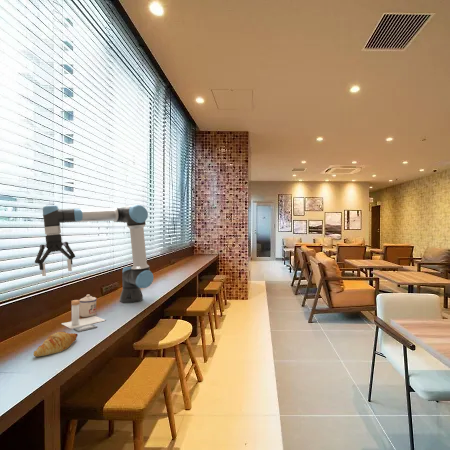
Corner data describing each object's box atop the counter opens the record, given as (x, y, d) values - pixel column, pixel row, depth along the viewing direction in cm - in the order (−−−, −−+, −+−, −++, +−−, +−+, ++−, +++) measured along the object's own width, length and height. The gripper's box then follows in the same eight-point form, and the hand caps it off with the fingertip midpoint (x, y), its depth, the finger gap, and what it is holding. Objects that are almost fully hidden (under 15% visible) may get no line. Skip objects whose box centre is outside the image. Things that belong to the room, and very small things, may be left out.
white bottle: (77, 323, 162) (77, 299, 162) (80, 324, 160) (80, 300, 160) (70, 324, 159) (70, 300, 160) (73, 326, 157) (73, 302, 157)
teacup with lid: (91, 317, 173) (91, 296, 174) (75, 317, 175) (75, 296, 175) (102, 311, 185) (102, 292, 186) (87, 311, 186) (87, 291, 187)
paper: (95, 316, 175) (95, 316, 175) (105, 320, 167) (105, 320, 167) (61, 324, 162) (61, 323, 162) (70, 328, 154) (70, 328, 154)
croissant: (40, 369, 118) (47, 351, 117) (21, 354, 120) (28, 336, 119) (81, 347, 138) (88, 332, 137) (64, 334, 141) (71, 319, 139)
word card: (91, 325, 160) (91, 323, 160) (97, 327, 156) (97, 326, 156) (73, 329, 153) (73, 328, 153) (78, 332, 149) (78, 330, 149)
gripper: (72, 232, 181) (76, 268, 182) (24, 237, 161) (29, 277, 162) (79, 231, 177) (83, 269, 177) (30, 236, 157) (35, 278, 157)
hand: (57, 273), depth 170 cm, fingers open, 13 cm apart
